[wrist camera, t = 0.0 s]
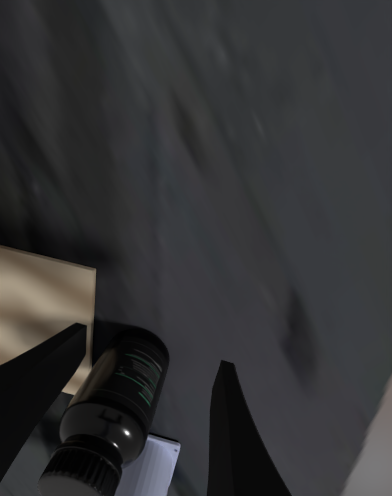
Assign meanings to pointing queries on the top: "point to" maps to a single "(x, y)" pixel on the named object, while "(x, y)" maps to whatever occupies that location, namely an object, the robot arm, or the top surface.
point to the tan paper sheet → (44, 304)
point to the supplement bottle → (108, 418)
